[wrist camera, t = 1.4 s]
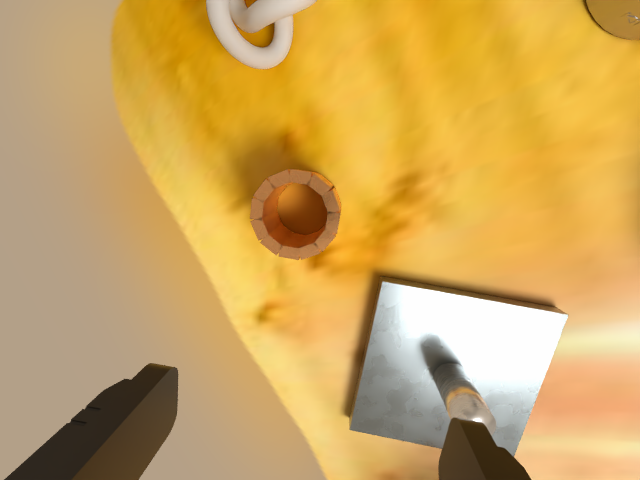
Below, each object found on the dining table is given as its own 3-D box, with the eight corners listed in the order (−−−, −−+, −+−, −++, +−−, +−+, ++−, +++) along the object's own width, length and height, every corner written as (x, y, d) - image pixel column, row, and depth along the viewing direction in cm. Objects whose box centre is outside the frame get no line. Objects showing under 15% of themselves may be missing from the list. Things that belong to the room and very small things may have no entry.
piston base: (380, 275, 28) (391, 309, 21) (556, 307, 27) (627, 352, 20) (349, 417, 31) (350, 485, 25) (503, 449, 31) (548, 527, 24)
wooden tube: (272, 165, 26) (255, 163, 21) (346, 177, 26) (346, 178, 21) (263, 237, 28) (246, 250, 23) (333, 249, 28) (331, 265, 23)
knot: (296, 93, 25) (282, 70, 19) (208, 55, 25) (168, 20, 19) (332, -4, 23) (328, -62, 18) (237, -46, 23) (202, -117, 17)
